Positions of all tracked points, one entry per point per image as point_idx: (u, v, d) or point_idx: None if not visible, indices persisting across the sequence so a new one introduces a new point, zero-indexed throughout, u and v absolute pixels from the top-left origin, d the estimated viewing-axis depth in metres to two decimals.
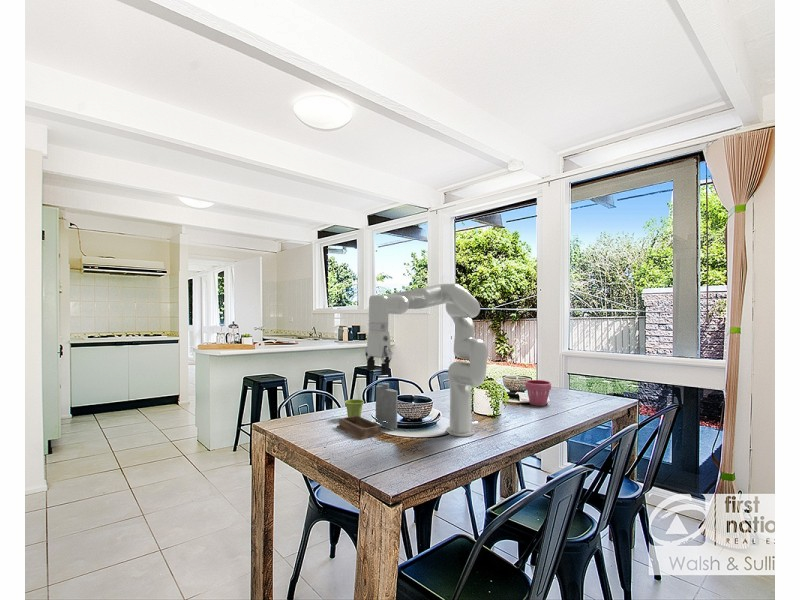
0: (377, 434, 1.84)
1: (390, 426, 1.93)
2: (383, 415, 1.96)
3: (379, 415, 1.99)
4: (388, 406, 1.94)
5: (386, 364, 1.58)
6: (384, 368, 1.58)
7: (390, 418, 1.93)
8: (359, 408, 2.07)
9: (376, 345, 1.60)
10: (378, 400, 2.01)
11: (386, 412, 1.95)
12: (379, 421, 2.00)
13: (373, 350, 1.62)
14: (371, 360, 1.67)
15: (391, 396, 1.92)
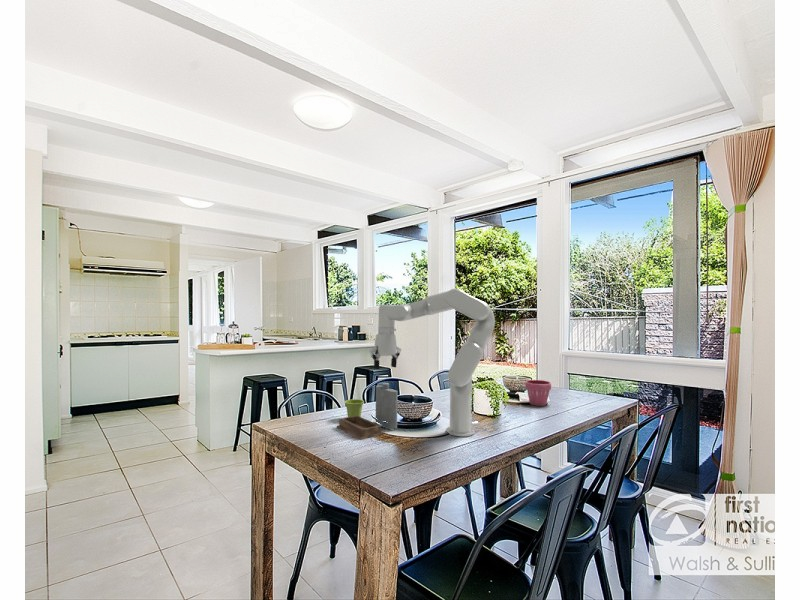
0: (377, 434, 1.84)
1: (390, 426, 1.93)
2: (383, 415, 1.96)
3: (379, 415, 1.99)
4: (388, 406, 1.94)
5: None
6: (395, 362, 2.01)
7: (390, 418, 1.93)
8: (359, 408, 2.07)
9: (392, 345, 1.98)
10: (378, 400, 2.01)
11: (386, 412, 1.95)
12: (379, 421, 2.00)
13: (388, 350, 1.97)
14: None
15: (391, 396, 1.92)
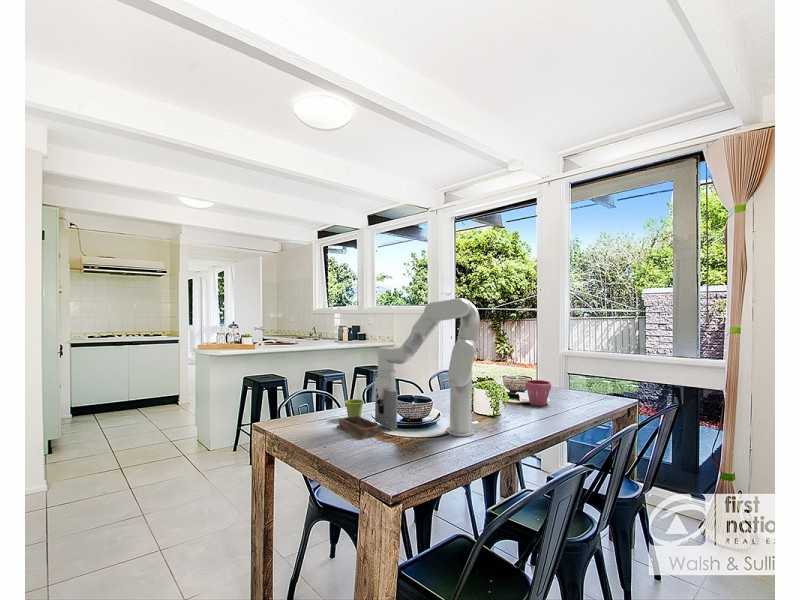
0: (377, 434, 1.84)
1: (390, 426, 1.93)
2: (383, 415, 1.96)
3: (379, 415, 1.99)
4: (388, 406, 1.94)
5: None
6: None
7: (390, 418, 1.93)
8: (359, 408, 2.07)
9: (392, 387, 1.98)
10: None
11: (386, 412, 1.95)
12: (379, 421, 1.99)
13: None
14: None
15: (391, 396, 1.92)
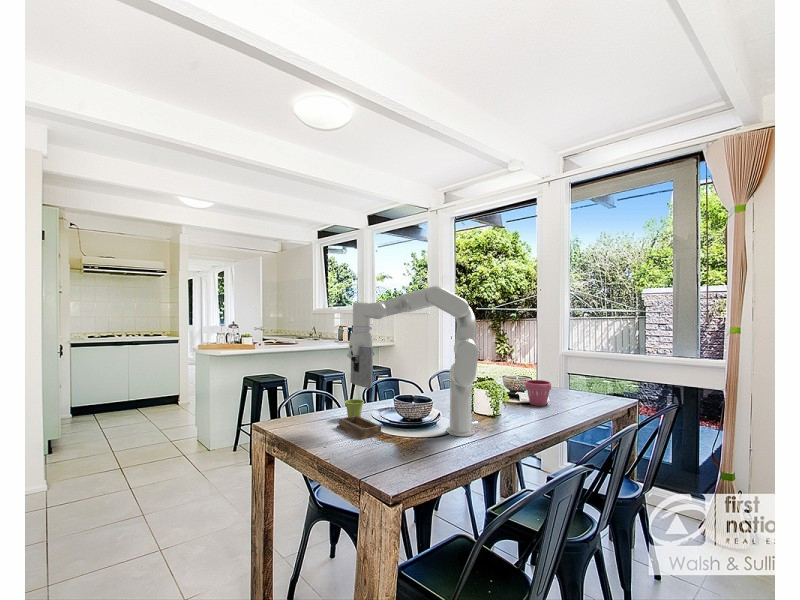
0: (377, 434, 1.84)
1: (365, 383, 1.84)
2: (358, 373, 1.88)
3: (354, 374, 1.91)
4: (363, 363, 1.85)
5: None
6: None
7: (365, 375, 1.85)
8: (359, 408, 2.07)
9: (368, 345, 1.90)
10: None
11: (361, 369, 1.86)
12: (354, 380, 1.91)
13: None
14: None
15: (366, 352, 1.84)
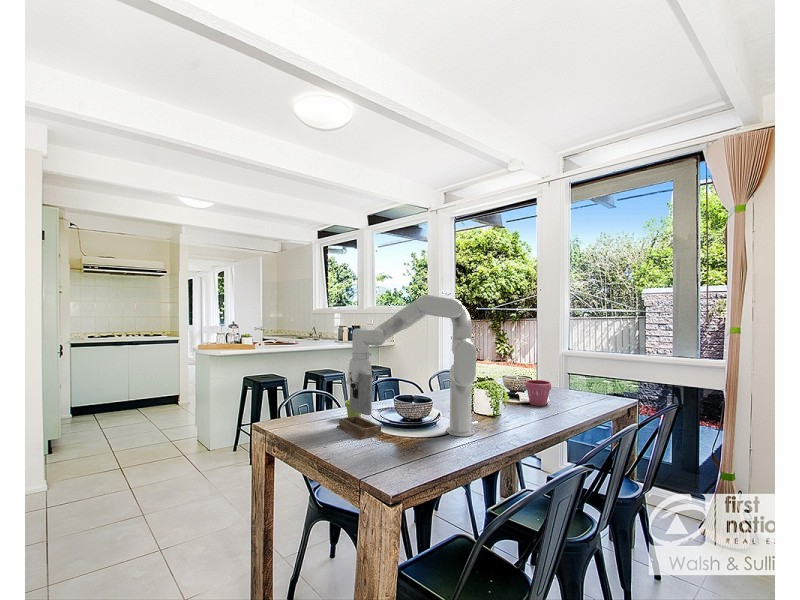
0: (377, 434, 1.84)
1: (364, 410, 1.84)
2: (357, 400, 1.88)
3: (354, 400, 1.91)
4: (362, 390, 1.85)
5: None
6: None
7: (364, 402, 1.85)
8: None
9: (367, 371, 1.90)
10: None
11: (360, 396, 1.86)
12: (353, 406, 1.91)
13: None
14: None
15: (366, 379, 1.84)
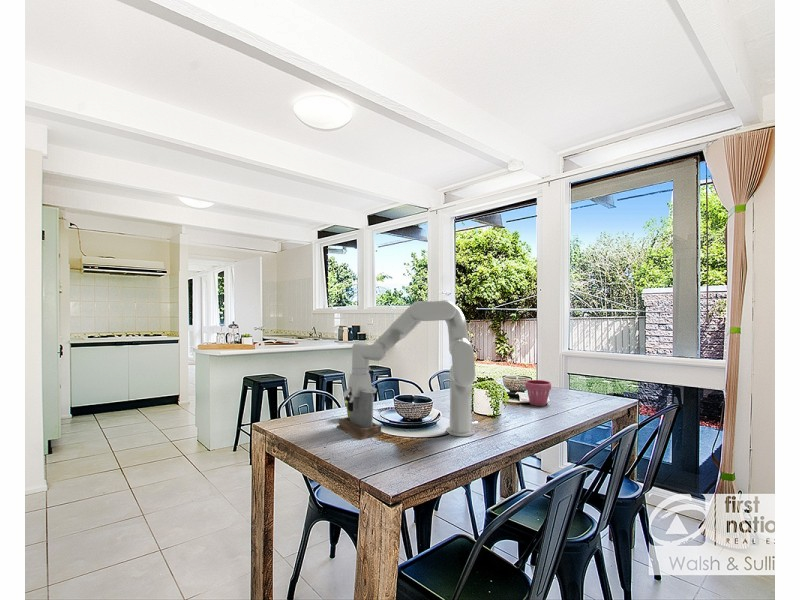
0: (377, 434, 1.84)
1: None
2: (358, 418, 1.88)
3: (354, 418, 1.91)
4: (363, 408, 1.86)
5: None
6: None
7: (365, 421, 1.85)
8: None
9: (367, 386, 1.90)
10: (353, 402, 1.92)
11: (361, 414, 1.86)
12: None
13: None
14: None
15: (367, 398, 1.84)
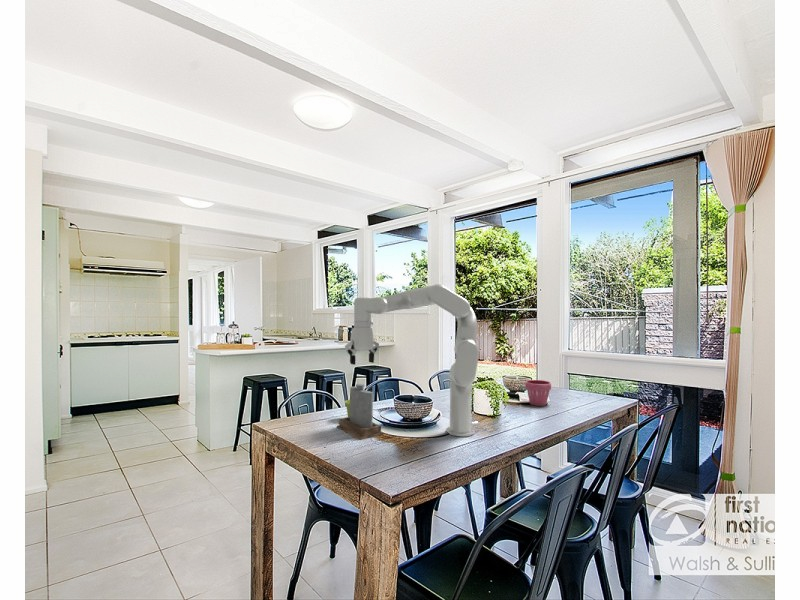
0: (377, 434, 1.84)
1: None
2: (358, 418, 1.88)
3: (354, 418, 1.91)
4: (363, 408, 1.85)
5: None
6: (373, 357, 1.93)
7: (365, 421, 1.85)
8: None
9: (369, 339, 1.90)
10: (352, 402, 1.92)
11: (361, 414, 1.86)
12: None
13: (365, 345, 1.89)
14: None
15: (366, 398, 1.84)
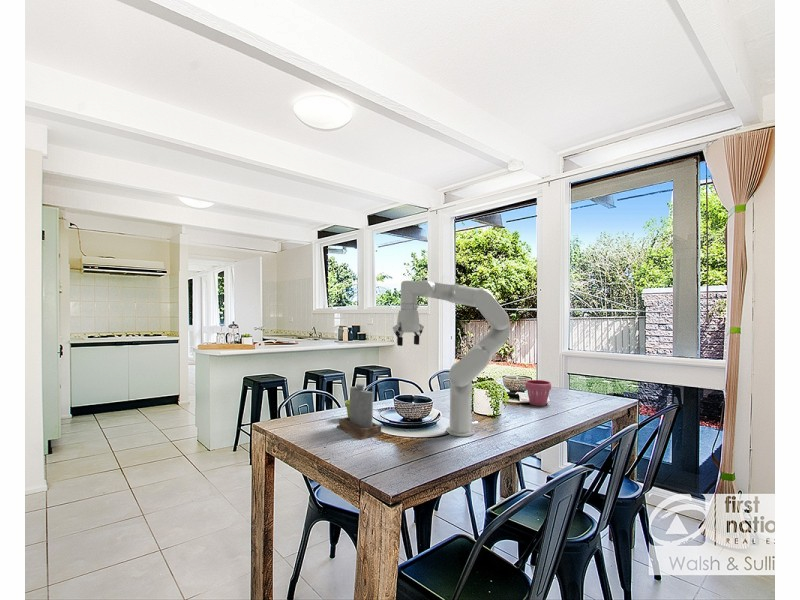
0: (377, 434, 1.84)
1: None
2: (358, 418, 1.88)
3: (354, 418, 1.91)
4: (363, 408, 1.85)
5: None
6: (418, 339, 1.98)
7: (365, 421, 1.85)
8: None
9: (415, 322, 1.95)
10: (352, 402, 1.92)
11: (361, 414, 1.86)
12: None
13: (411, 327, 1.93)
14: None
15: (366, 398, 1.84)
